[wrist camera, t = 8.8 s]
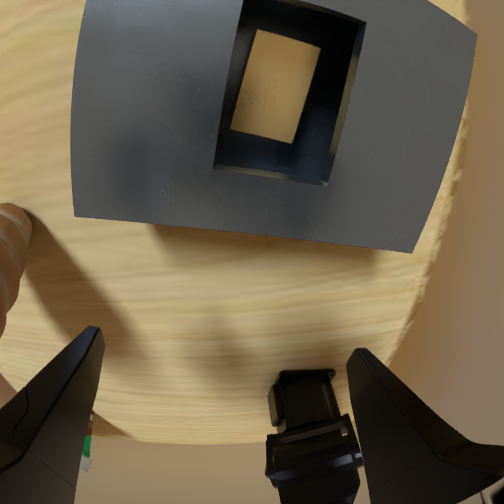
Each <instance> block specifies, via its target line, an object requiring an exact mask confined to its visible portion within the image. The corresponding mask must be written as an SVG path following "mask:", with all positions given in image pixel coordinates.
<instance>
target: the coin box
mask: <svg viewBox="0 0 504 504" xmlns="http://www.w3.org/2000/svg"><path fill="white" fill-rule="evenodd" d="M257 29H258V30H262V31H266V32H270V33H274V34H277V35H281V36H284V37H288V38H291V39H294V40H297V41H301V42H304V43H307V44H310V45H313V46H315V47H318V48H321V50H320V53H319V57H318V60H317V63H316V67H315V70H314V73H313V76H312V80H311V83H310V86H309V90H308V93H307V96H306V100H305V103H304V106H303V109H302V113H301V116H300V119H299V123H298V126H297V129H296V132H295V136H294V139H293V142H292V144H291V143H287V142H283V141H279V140H275V139H271V138H267V137H263V136H259V135H254V134H250V133H245V132H241V131H236V130H231V129H230V125H229V118H230V114H231V110H232V106H233V102H234V98H235V94H236V91H237V87H238V83H239V79H240V76H241V72H242V68H243V65H244V61H245V58H246V54H247V51H248V47H249V44H250V40H251V38H252V36H253V35H254V33H255V32H256V31H257ZM476 40H477V34H476V33H475V32H473V31H472V30H471V29H469V28H468V27H467V26H465V25H464V24H462V23H461V22H460V21H458V20H457V19H455V18H454V17H452V16H451V15H450V14H448V13H447V12H445V11H444V10H442V9H440V8H439V7H437V6H436V5H434V4H432V3H431V2H429V1H427V0H86V4H85V8H84V13H83V18H82V23H81V28H80V34H79V40H78V46H77V53H76V60H75V69H74V78H73V90H72V105H71V140H70V143H71V179H72V194H73V206H74V216H75V217H84V218H96V219H107V220H118V221H129V222H140V223H151V224H161V225H172V226H182V227H192V228H201V229H211V230H221V231H230V232H239V233H248V234H258V235H266V236H275V237H284V238H293V239H301V240H310V241H318V242H326V243H334V244H342V245H350V246H358V247H366V248H374V249H382V250H389V251H397V252H404V253H412V252H413V250H414V248H415V246H416V243H417V241H418V239H419V237H420V235H421V232H422V230H423V228H424V225H425V223H426V221H427V218H428V216H429V213H430V211H431V208H432V206H433V203H434V201H435V198H436V196H437V193H438V190H439V188H440V185H441V182H442V179H443V176H444V174H445V171H446V168H447V165H448V162H449V159H450V156H451V152H452V149H453V146H454V143H455V139H456V136H457V132H458V129H459V125H460V121H461V117H462V114H463V110H464V105H465V101H466V97H467V92H468V88H469V83H470V78H471V72H472V67H473V61H474V54H475V47H476Z"/></svg>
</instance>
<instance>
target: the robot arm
mask: <svg viewBox="0 0 504 504" xmlns="http://www.w3.org/2000/svg"><path fill="white" fill-rule="evenodd" d="M104 348H105V343H104V339H103V334H102V330H101V328H100V327H97V326H88V327H87V328H86V329H85V330H84V331H83V332H81V333H80V334H79V335H78V336H77V337H76V338H75V339H74V340H73V341H72V342H71V343H69V344H68V345H67V346H66V347H65V348H64V349H63V350H62V351H61V352H60V353H59V354H58V355H57V356H56V357H54V358H53V359H52V360H51V361H50V362H49V363H48V364H47V365H46V366H45V367H44V368H43V369H42V370H41V371H40V372H39V373H38V374H37V375H36V376H35V377H34V378H33V379H32V380H31V381H30V382H29V383H28V384H27V385H26V387H23V388H22V389H21V390H20V391H19V392H18V393H17V395H15V396H14V397H13V398H12V399H11V400H10V401H9V402H8V403H7V404H6V405H4V406H3V407H2V408H1V409H0V504H74V499H75V492H76V485H77V478H78V473H79V467H80V462H81V457H82V452H83V447H84V442H85V438H86V433H87V429H88V425H89V420H90V416H91V412H92V408H93V404H94V401H95V397H96V393H97V389H98V384H99V378H100V371H101V365H102V360H103V354H104ZM346 369H347V376H348V384H349V393H350V400H351V405H352V410H353V414H354V419H355V423H356V428H357V433H358V437H359V442H360V447H361V451H362V455H361V451H360V448H359V444H358V441H357V438H356V435H355V432H354V429H353V426H352V423H351V420H350V417H349V414H348V413H347V414H344V415H343V416H341V414H340V411H339V407H338V404H337V401H336V397H335V394H334V391H333V387H332V384H331V381H332V379H333V378H334V376H335V375H336V372H335V370H333V369H332V370H307V371H282V372H280V373H279V375H278V377H277V380H276V382H275V384H274V385H273V386H272V388H271V390H270V392H269V394H268V403H269V410H270V417H271V423H272V426H273V427H277V431H278V433H277V434H269V435H267V441H266V468H265V475H266V477H268V478H269V479H270V480H271V483H272V485H273V486H274V488H278V491H279V496H280V502H281V504H353V502H354V500H355V497H356V494H357V491H358V489H359V486H360V478H359V474H358V470H357V468H360V467H363V466H364V468H365V473H366V478H367V484H368V490H369V496H370V502H371V504H504V446H499V445H487V444H478V443H475V442H472V441H470V440H468V439H467V438H465V437H464V436H463V435H462V434H460V433H459V432H458V431H457V430H455V429H454V428H453V427H451V426H450V425H449V424H448V423H446V422H445V421H444V420H443V419H442V418H440V417H439V416H438V415H437V414H436V413H435V412H434V411H433V410H432V409H431V408H430V407H429V406H427V405H426V404H425V403H424V402H423V401H422V400H421V399H420V398H419V397H418V396H417V395H416V394H415V393H414V392H413V391H412V390H410V389H409V388H408V387H407V386H406V385H405V384H404V383H403V382H402V381H401V380H400V379H399V378H398V377H397V376H396V375H395V374H393V373H392V372H391V371H390V370H389V369H388V368H387V367H386V366H385V365H384V364H383V363H382V362H381V361H380V360H379V359H377V358H376V357H375V356H374V355H373V354H372V353H371V352H370V351H369V350H368V349H366V348H356V349H355V350H354V351H353V353H352V355H351V356H350V358H349V359H348V361H347V364H346ZM345 433H347V435H345V436H342V434H345ZM362 457H363V459H362ZM363 462H364V464H363Z"/></svg>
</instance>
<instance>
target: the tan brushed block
mask: <svg viewBox="0 0 504 504" xmlns="http://www.w3.org/2000/svg"><path fill="white" fill-rule="evenodd" d="M320 50H321V48H318V47H315V46H313V45H310V44H307V43H304V42H301V41H297V40H294V39H291V38H288V37H284V36H281V35H277V34H274V33H270V32H266V31H262V30H258V29H257V31H256V32H255V33H254V35H253V36H252V38H251V40H250V44H249V47H248V51H247V54H246V58H245V61H244V65H243V68H242V72H241V76H240V79H239V83H238V87H237V91H236V94H235V98H234V102H233V106H232V110H231V114H230V118H229V125H230V129H231V130H236V131H241V132H245V133H250V134H254V135H259V136H263V137H267V138H271V139H275V140H279V141H283V142H287V143H291V144H292V142H293V139H294V136H295V132H296V129H297V126H298V123H299V119H300V116H301V113H302V109H303V106H304V103H305V100H306V96H307V93H308V90H309V86H310V83H311V80H312V76H313V73H314V70H315V67H316V63H317V60H318V57H319V53H320Z"/></svg>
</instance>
